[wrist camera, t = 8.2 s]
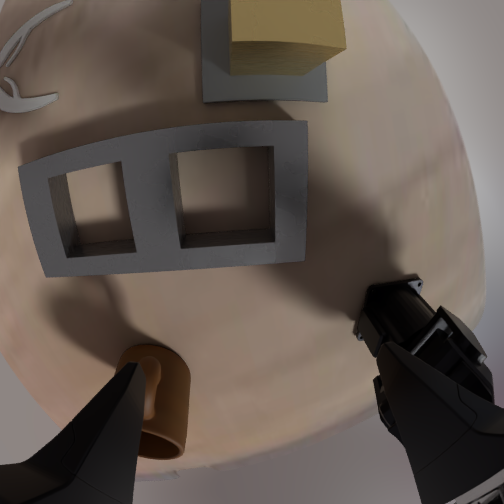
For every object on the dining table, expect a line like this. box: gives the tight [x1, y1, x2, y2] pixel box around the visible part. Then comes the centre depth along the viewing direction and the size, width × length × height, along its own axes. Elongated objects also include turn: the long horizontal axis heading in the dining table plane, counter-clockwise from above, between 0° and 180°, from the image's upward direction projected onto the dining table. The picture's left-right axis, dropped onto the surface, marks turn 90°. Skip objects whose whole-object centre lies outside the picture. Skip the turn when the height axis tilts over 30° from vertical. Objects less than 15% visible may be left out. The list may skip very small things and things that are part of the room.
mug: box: [114, 345, 191, 460], centre depth 20 cm, size 12×8×9 cm, turn 162°
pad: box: [201, 0, 328, 103], centre depth 13 cm, size 8×8×1 cm
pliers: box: [0, 0, 73, 113], centre depth 10 cm, size 10×2×15 cm
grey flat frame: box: [18, 120, 308, 277], centre depth 16 cm, size 20×9×2 cm, turn 92°
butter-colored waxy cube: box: [228, 0, 346, 76], centre depth 10 cm, size 5×5×7 cm
